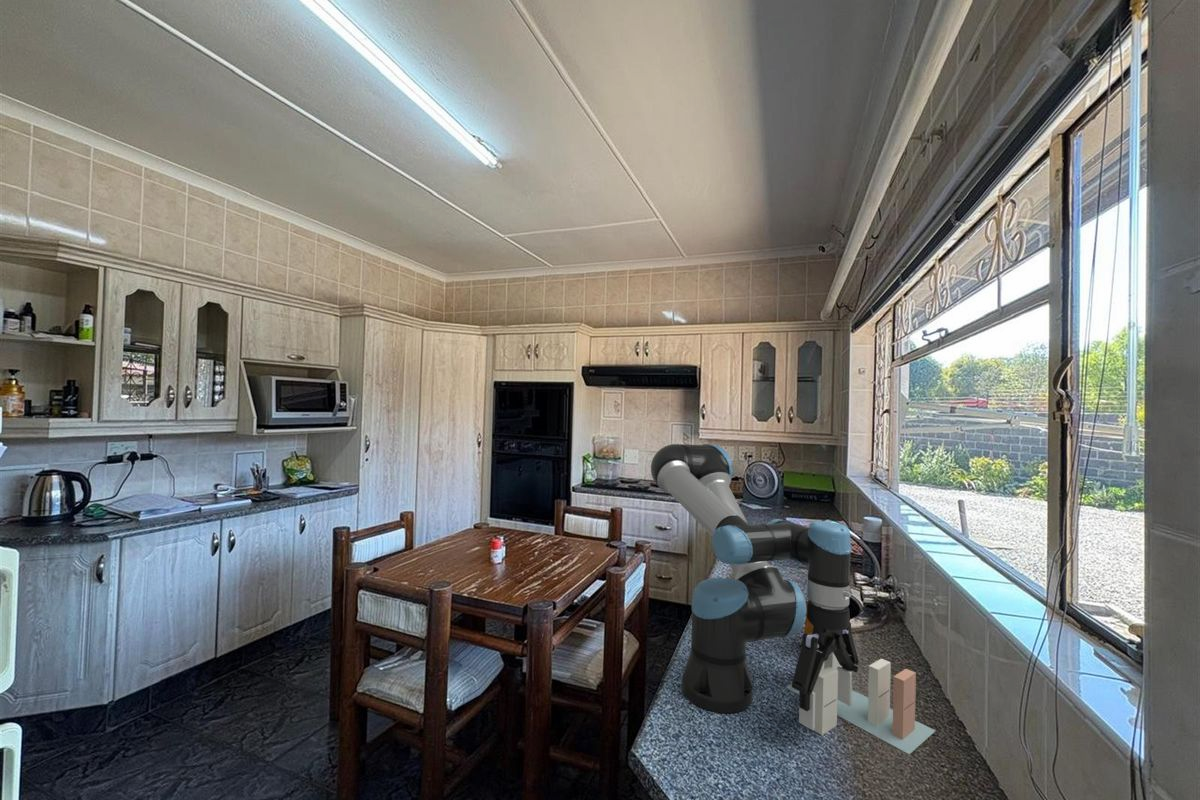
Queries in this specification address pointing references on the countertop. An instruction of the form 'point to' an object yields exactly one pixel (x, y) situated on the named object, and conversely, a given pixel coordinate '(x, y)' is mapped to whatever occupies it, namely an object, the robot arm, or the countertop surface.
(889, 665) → the domino
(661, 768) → the countertop surface
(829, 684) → the domino
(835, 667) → the domino
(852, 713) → the mat
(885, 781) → the countertop surface
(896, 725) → the end domino
